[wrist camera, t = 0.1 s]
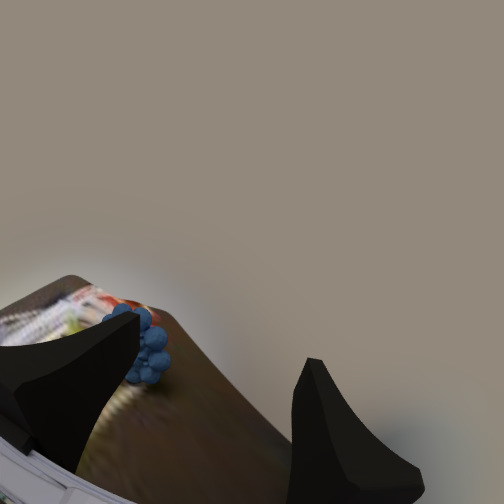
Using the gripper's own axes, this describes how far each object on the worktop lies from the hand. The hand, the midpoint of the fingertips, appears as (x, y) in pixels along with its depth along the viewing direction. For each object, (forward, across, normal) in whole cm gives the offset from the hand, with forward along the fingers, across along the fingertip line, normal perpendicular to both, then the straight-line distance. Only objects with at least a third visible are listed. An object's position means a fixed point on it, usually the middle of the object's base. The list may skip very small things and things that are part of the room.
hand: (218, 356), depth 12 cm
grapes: (+17, +12, +23) cm, 31 cm away
